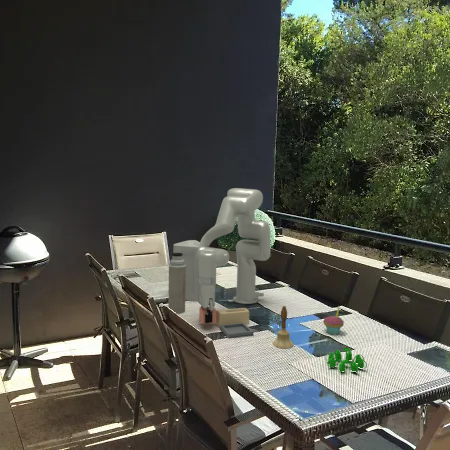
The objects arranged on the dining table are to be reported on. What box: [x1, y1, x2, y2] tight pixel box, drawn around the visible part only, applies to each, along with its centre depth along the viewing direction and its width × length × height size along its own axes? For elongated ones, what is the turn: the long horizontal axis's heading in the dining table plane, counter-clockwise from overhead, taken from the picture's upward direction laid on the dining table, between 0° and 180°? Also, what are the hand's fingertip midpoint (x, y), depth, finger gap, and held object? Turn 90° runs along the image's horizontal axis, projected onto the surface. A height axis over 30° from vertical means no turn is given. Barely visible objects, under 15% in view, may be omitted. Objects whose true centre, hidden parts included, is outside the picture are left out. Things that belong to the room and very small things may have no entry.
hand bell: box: [272, 305, 294, 350], centre depth 202 cm, size 8×8×16 cm
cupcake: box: [322, 305, 345, 335], centre depth 217 cm, size 9×8×12 cm
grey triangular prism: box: [172, 239, 200, 303], centre depth 261 cm, size 19×15×28 cm
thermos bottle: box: [167, 252, 186, 314], centre depth 239 cm, size 8×8×28 cm
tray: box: [219, 323, 254, 339], centre depth 215 cm, size 11×11×2 cm
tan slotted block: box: [215, 307, 250, 328], centre depth 225 cm, size 14×5×6 cm, turn 111°
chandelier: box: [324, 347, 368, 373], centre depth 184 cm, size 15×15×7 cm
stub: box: [198, 306, 217, 325], centre depth 220 cm, size 6×5×6 cm
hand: (206, 320), depth 221 cm, fingers closed on stub, 5 cm apart
